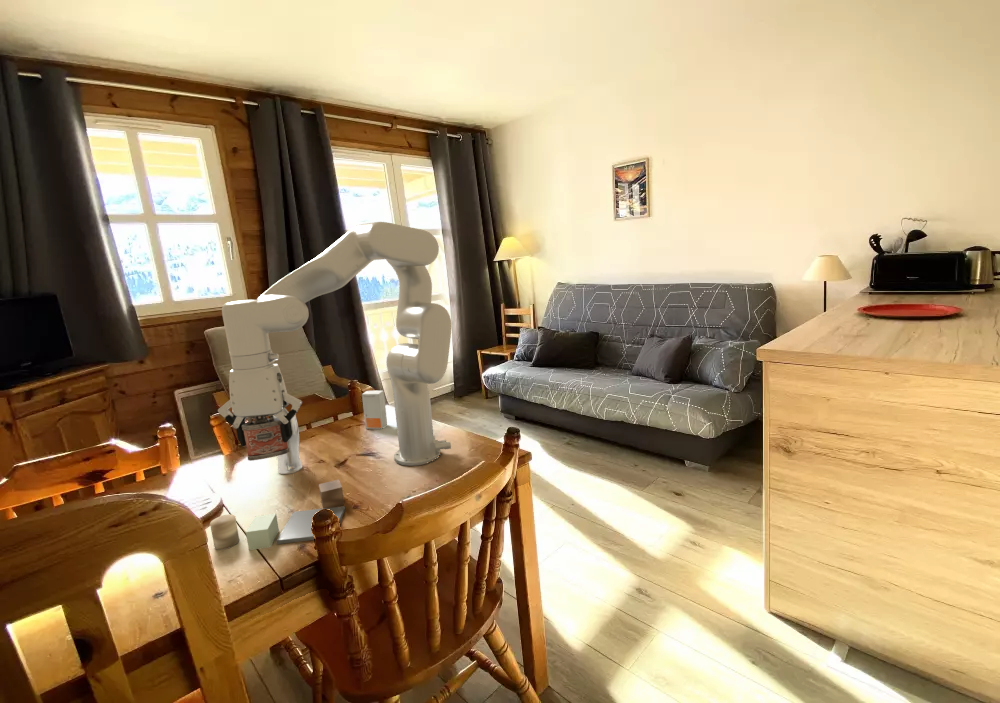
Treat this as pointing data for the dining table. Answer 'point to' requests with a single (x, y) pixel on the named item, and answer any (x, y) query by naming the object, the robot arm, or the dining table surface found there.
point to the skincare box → (374, 409)
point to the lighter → (264, 437)
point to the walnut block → (331, 494)
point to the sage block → (262, 531)
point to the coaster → (303, 525)
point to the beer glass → (290, 452)
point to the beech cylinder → (224, 532)
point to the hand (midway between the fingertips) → (266, 441)
